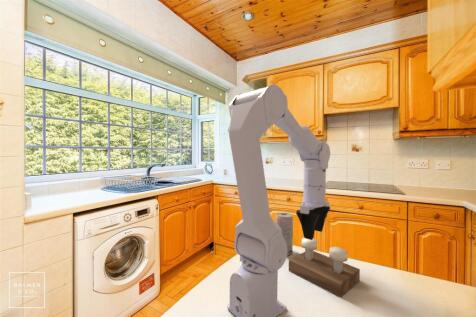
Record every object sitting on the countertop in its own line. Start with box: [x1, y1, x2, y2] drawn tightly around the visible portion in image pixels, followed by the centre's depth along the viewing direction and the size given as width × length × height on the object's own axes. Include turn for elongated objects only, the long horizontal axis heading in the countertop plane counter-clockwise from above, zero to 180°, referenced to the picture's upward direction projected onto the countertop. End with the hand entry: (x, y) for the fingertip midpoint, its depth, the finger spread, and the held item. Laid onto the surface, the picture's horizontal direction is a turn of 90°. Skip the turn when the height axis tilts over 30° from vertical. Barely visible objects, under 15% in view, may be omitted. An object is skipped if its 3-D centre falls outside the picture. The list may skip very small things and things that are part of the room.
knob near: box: [328, 246, 349, 274], centre depth 52 cm, size 4×4×5 cm
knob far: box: [301, 237, 318, 261], centre depth 58 cm, size 4×4×5 cm
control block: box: [288, 250, 361, 299], centre depth 55 cm, size 10×14×3 cm
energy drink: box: [275, 212, 294, 256], centre depth 69 cm, size 5×5×12 cm
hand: (313, 234), depth 59 cm, fingers open, 7 cm apart
